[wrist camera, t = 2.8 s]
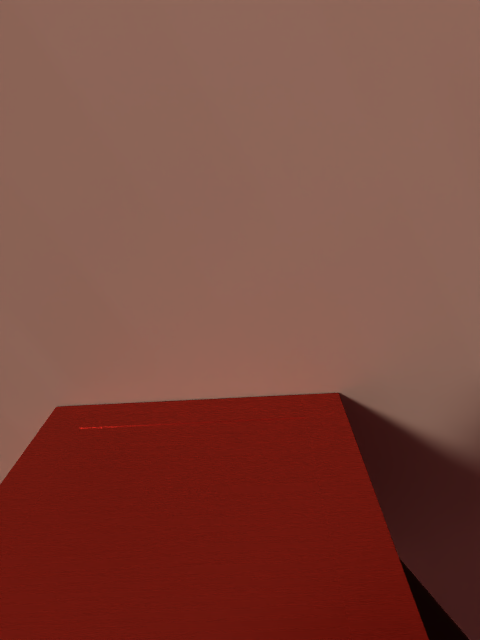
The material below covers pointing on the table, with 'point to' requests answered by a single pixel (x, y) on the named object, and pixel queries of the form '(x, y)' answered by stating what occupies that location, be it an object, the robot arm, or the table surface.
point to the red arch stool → (199, 527)
